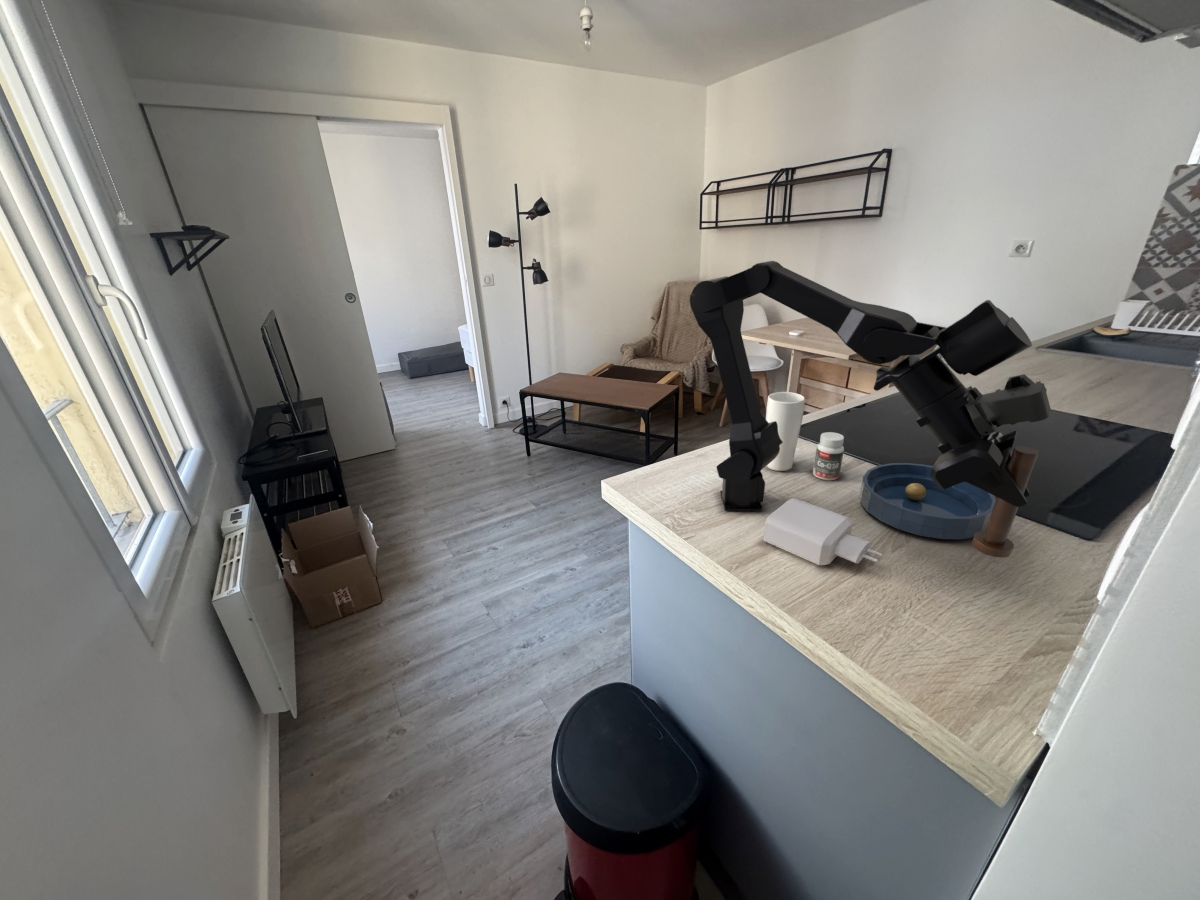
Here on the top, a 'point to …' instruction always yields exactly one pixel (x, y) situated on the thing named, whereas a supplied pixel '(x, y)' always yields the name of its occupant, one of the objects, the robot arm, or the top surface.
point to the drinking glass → (785, 425)
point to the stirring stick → (1006, 508)
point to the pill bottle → (829, 456)
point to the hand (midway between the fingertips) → (1024, 501)
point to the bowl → (925, 502)
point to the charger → (815, 534)
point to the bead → (915, 491)
